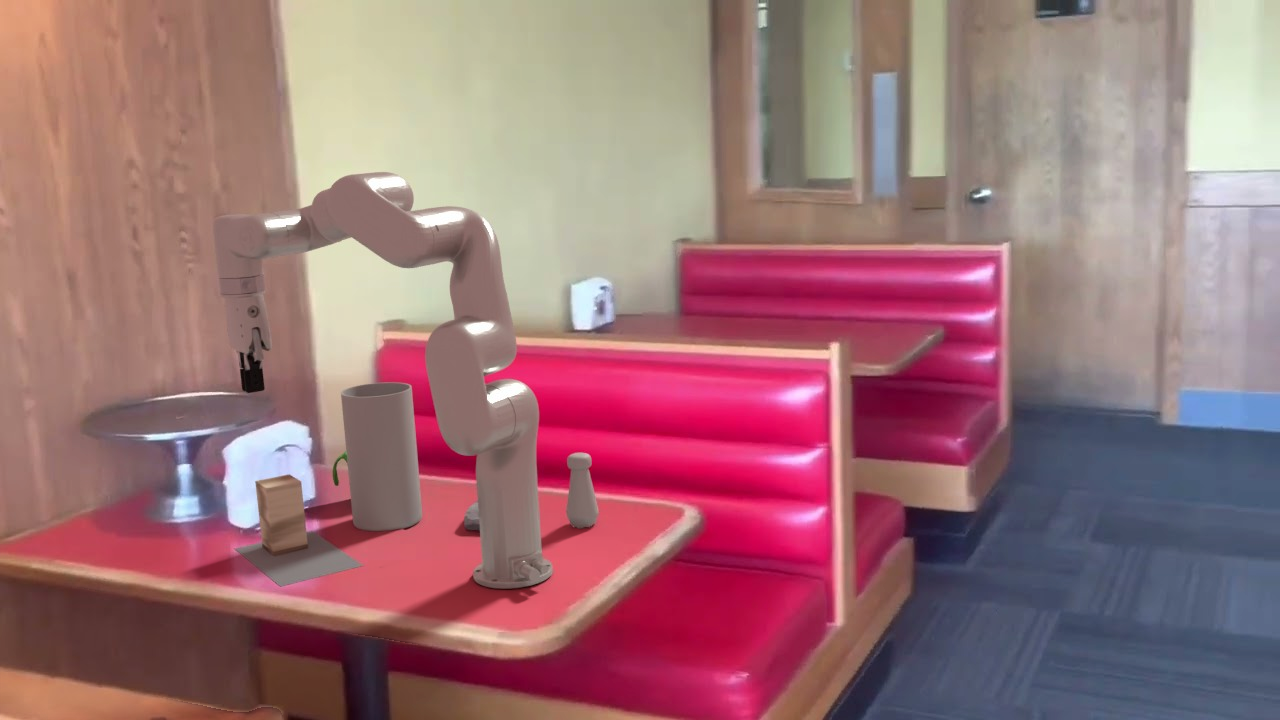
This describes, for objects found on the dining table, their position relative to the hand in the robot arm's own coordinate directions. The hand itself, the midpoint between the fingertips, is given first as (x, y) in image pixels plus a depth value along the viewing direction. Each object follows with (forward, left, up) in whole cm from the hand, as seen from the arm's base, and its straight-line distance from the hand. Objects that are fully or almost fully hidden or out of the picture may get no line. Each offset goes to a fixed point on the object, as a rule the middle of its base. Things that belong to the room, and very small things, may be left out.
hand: (253, 390), depth 216 cm
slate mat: (-14, 0, -27) cm, 31 cm away
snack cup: (+8, -24, -27) cm, 37 cm away
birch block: (-8, 0, -27) cm, 28 cm away
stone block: (-22, -35, -28) cm, 49 cm away
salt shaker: (-32, -46, -27) cm, 63 cm away
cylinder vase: (-6, -20, -27) cm, 34 cm away
